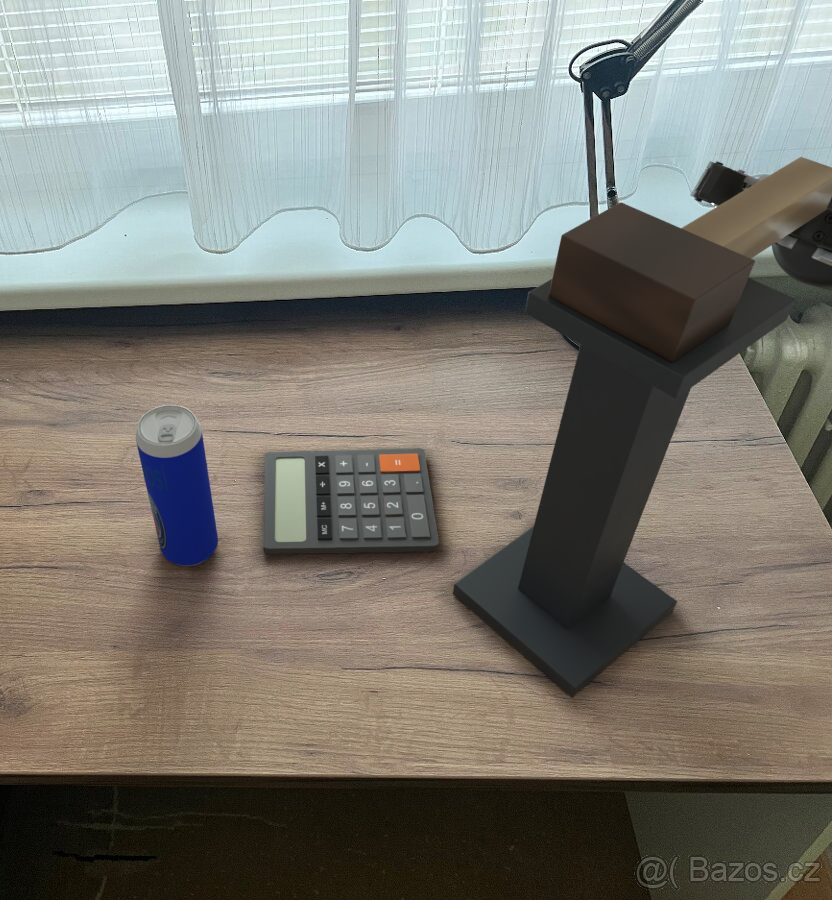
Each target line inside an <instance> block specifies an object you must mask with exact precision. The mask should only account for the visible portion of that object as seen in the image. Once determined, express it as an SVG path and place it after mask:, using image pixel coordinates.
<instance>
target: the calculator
mask: <svg viewBox="0 0 832 900" xmlns="http://www.w3.org/2000/svg"><path fill="white" fill-rule="evenodd" d="M427 464H428V463H427V457H426V452H425V449H423V448H420V447H416V448H413V447H412V448H377V449H375V448H373V449H342V450H341V449H340V450H339V449H337V450H302V451H301V450H300V451H269V452H265V455H264V486H263V488H264V489H263V490H264V491H263V492H264V495H263V531H262V540H263V541H262V547H263V549H262V550H263V553H264V554H267V555H271V554H272V555H273V554H274V555H276V554H277V555H278V554H282V555H283V554H343V553H345V554H347V553H350V554H351V553H407V552H409V553H411V552H437V551H438V549H439V543H440V541H439V534H438V527H437V522H436V517H435V515H436V514H435V509H434V503H433V496H432V490H431V483H430V478H429V477H430V476H429V471H428V465H427Z"/></svg>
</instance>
